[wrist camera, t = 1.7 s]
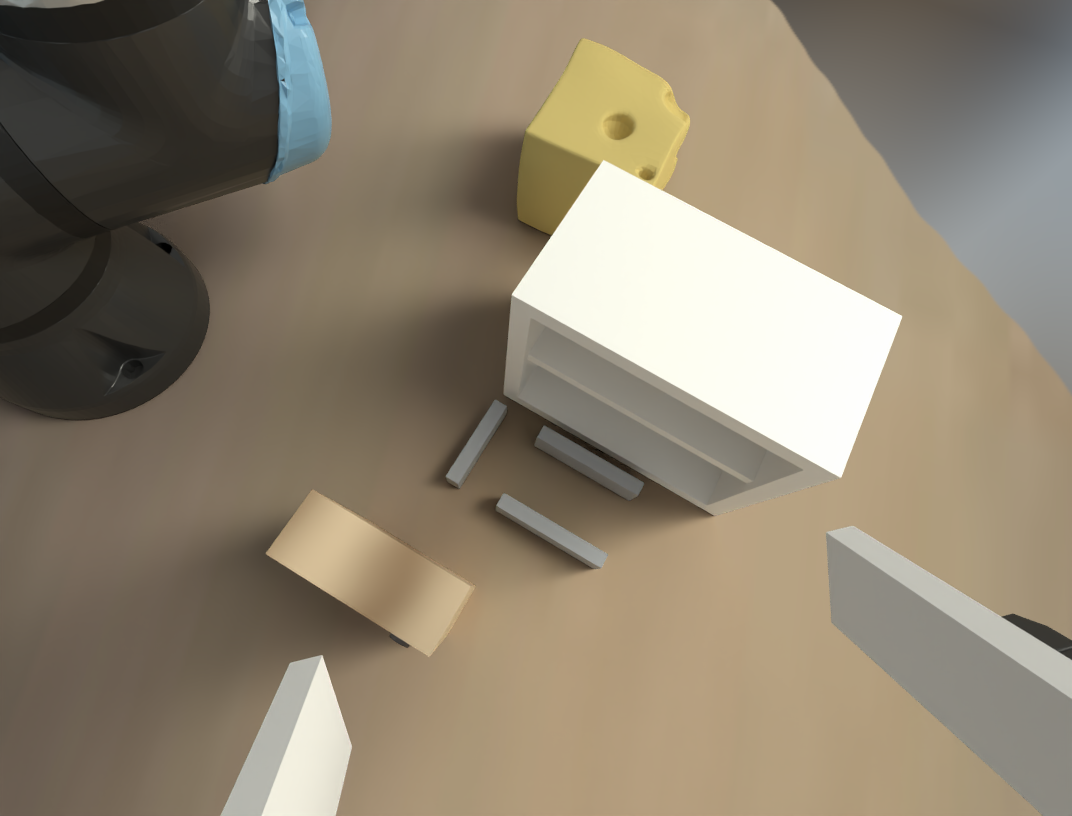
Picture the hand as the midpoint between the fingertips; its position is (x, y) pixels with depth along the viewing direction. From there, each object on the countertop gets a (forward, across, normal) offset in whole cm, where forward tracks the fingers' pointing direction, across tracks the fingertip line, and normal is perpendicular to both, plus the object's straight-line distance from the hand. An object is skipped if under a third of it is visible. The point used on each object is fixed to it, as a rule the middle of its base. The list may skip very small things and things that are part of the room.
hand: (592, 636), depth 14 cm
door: (+22, -9, -9) cm, 26 cm away
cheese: (+38, +11, +14) cm, 41 cm away
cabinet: (+26, +7, -4) cm, 28 cm away
